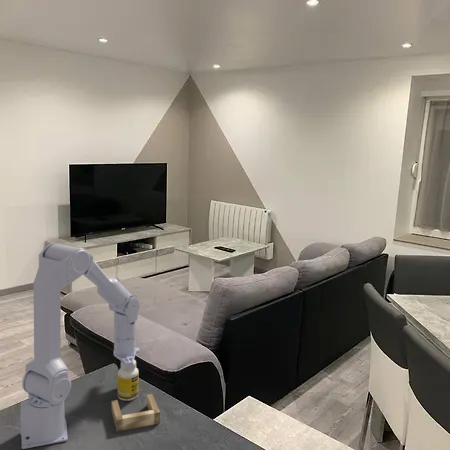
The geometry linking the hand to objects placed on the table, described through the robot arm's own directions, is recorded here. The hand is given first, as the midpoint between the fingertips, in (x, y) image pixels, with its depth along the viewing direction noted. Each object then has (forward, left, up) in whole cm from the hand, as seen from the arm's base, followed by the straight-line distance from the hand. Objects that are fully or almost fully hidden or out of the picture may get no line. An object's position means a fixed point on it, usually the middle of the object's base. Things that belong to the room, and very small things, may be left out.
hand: (124, 381), depth 126 cm
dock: (0, -15, -1) cm, 15 cm away
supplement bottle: (0, -5, -2) cm, 5 cm away
